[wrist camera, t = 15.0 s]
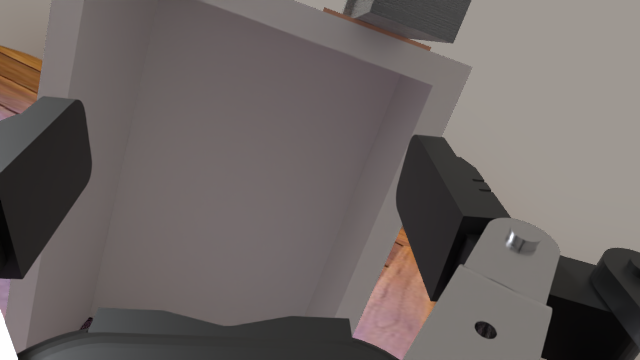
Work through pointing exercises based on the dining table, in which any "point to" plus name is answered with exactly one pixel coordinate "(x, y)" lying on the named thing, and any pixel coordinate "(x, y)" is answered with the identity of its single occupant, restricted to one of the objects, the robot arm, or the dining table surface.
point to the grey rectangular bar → (411, 17)
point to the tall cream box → (228, 160)
